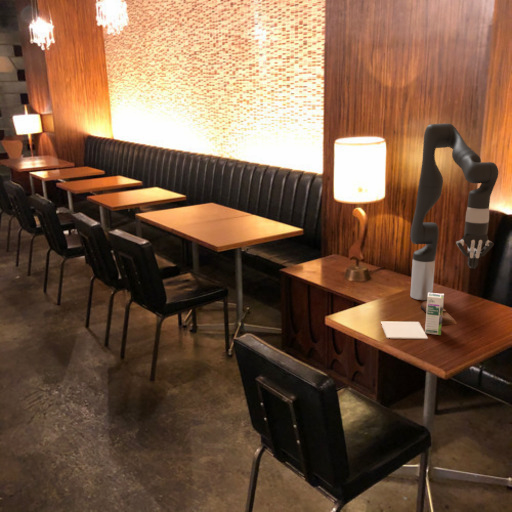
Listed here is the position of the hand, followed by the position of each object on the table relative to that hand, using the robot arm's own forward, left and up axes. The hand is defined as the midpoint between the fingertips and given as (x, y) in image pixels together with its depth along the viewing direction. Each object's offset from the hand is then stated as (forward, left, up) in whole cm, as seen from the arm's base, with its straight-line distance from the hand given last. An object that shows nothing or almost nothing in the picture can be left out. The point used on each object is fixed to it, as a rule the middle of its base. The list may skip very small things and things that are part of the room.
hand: (472, 267), depth 193 cm
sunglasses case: (-16, -6, -26) cm, 31 cm away
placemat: (-1, -23, -25) cm, 34 cm away
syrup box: (0, -12, -25) cm, 28 cm away
